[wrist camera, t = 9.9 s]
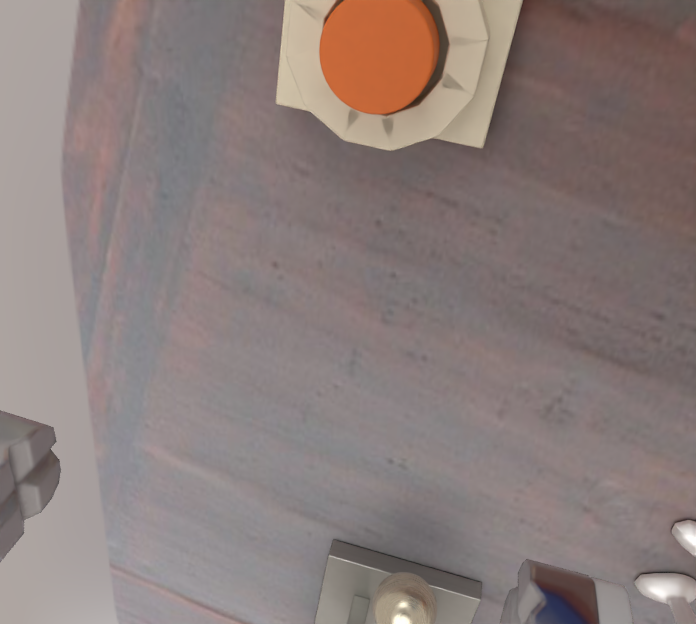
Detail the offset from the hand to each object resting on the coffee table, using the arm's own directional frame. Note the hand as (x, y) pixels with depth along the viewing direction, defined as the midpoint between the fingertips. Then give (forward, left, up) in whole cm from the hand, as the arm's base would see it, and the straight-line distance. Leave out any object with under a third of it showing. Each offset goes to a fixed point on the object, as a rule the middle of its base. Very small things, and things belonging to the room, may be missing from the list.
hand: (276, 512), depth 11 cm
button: (-5, -2, -15) cm, 16 cm away
